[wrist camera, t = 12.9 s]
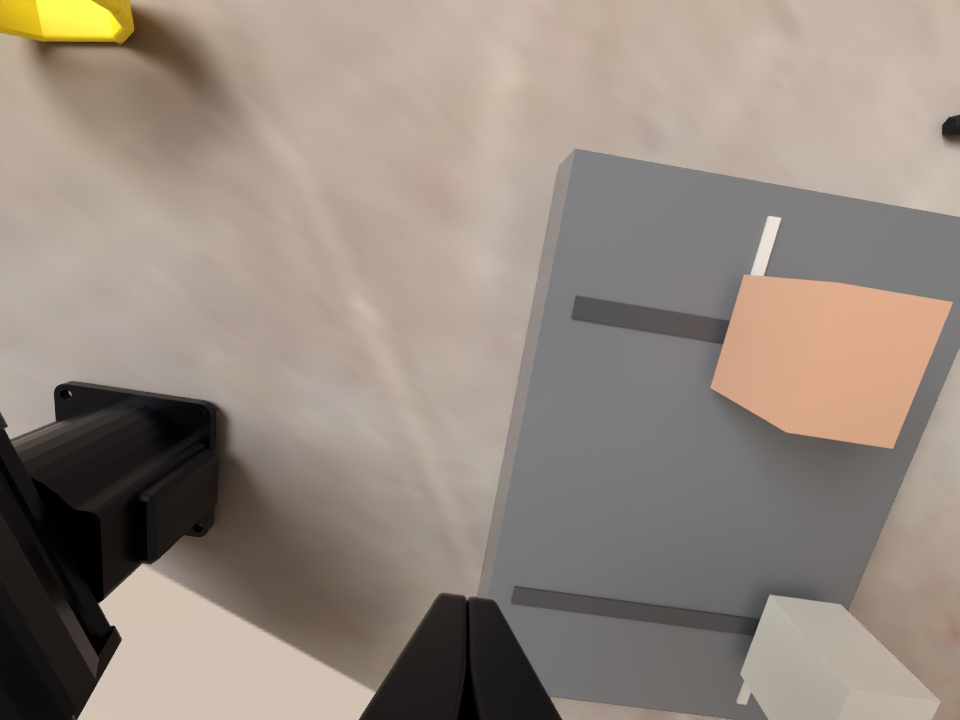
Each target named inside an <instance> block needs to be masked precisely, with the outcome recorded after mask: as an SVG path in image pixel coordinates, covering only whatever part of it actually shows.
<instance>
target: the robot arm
mask: <svg viewBox="0 0 960 720" xmlns="http://www.w3.org/2000/svg"><path fill="white" fill-rule="evenodd" d="M68 391H70V392H71V393H72V396H73V397H71V396H70V395H69V392H68ZM54 400H55V415H56V421H55V422H53V423H50V424H48V425H45V426H43V427H40V428H38V429H35V430H33V431H30V432H28V433H25V434H23V435H20V436H18V437H15V438H13V439H11V440H10V439H9V437H8V435H7V433H6V431H5V429H4V428H6V427H8V426H7V424H6V422H5V420H4V418H3V416H2V414H1V413H0V720H77V719H78V717H79V715H80V713H81V712H82V710H83V708H84V706H85V705H86V703H87V701H88V699H89V697H90V696H91V694H92V692H93V690H94V688H95V687H96V685H97V683H98V681H99V679H100V678H101V676H102V674H103V672H104V671H105V669H106V667H107V665H108V664H109V662H110V660H111V658H112V656H113V655H114V653H115V651H116V649H117V647H118V646H119V644H120V642H121V640H122V638H121V637H120V635H119V633H118V631H117V629H116V627H115V626H110V624H109V622H108V621H107V619H106V617H105V615H104V613H103V611H102V610H101V608H100V606H99V604H98V603H100V602H101V601H103V600H104V599H105V598H106V597H107V596H108V595H109V594H110V593H111V592H112V591H113V590H114V589H115V588H116V587H118V586H119V584H121V583H122V582H123V581H124V580H125V579H126V578H127V577H128V576H129V575H131V574H132V572H134V571H135V570H136V569H137V568H138V567H139V566H140V565H141V564H142V563H143V564H150V565H151V564H152V563H154V562H155V561H157V560H158V559H159V558H160V557H161V556H162V555H163V554H164V553H166V552H167V551H168V550H169V549H170V548H171V547H172V546H173V545H174V544H175V543H176V542H177V541H178V540H179V539H180V538H181V537H182V536H183V535H187V536H195V537H202V536H204V535H206V534H207V533H208V532H209V531H210V529H211V528H212V527H213V524H214V505H215V504H216V503H217V493H218V453H217V451H216V450H215V441H216V410H215V408H214V406H213V405H212V404H211V403H210V402H207V401H203V400H197V399H190V398H183V397H176V396H170V395H163V394H156V393H149V392H143V391H136V390H129V389H122V388H116V387H109V386H102V385H95V384H89V383H82V382H75V381H70V382H66V383H63V384H60V385H58V386H57V387H56V388H55V391H54ZM199 409H200V410H202V411H203V412H204V413H205V417H203V416H201V415H200V414H199V411H198V410H199ZM197 522H198V523H200V524H201V525H202V526H203V527H201V526H199V525H198V523H197ZM359 720H562V719H561V717H560V715H559V713H558V711H557V710H556V708H555V706H554V704H553V703H552V701H551V699H550V697H549V695H548V694H547V692H546V690H545V688H544V686H543V685H542V683H541V681H540V679H539V678H538V676H537V674H536V672H535V670H534V669H533V667H532V665H531V663H530V661H529V660H528V658H527V656H526V654H525V653H524V651H523V649H522V647H521V645H520V644H519V642H518V640H517V638H516V637H515V635H514V633H513V631H512V629H511V628H510V626H509V624H508V622H507V620H506V619H505V617H504V615H503V613H502V612H501V610H500V608H499V606H498V604H497V603H496V602H495V601H494V600H492V599H487V598H479V597H470V598H468V600H466V597H465V596H463V595H457V594H449V593H441V594H439V595H438V596H437V598H436V599H435V601H434V602H433V604H432V606H431V607H430V609H429V610H428V612H427V613H426V615H425V617H424V618H423V620H422V621H421V623H420V624H419V626H418V628H417V629H416V631H415V632H414V634H413V635H412V637H411V639H410V640H409V642H408V643H407V645H406V646H405V648H404V650H403V651H402V653H401V654H400V656H399V657H398V659H397V661H396V662H395V664H394V665H393V667H392V668H391V670H390V672H389V673H388V675H387V676H386V678H385V679H384V681H383V682H382V684H381V686H380V687H379V689H378V690H377V692H376V693H375V695H374V697H373V698H372V700H371V701H370V703H369V704H368V706H367V708H366V709H365V711H364V712H363V714H362V715H361V717H360V719H359Z"/></svg>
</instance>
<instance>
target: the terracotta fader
mask: <svg viewBox="0 0 960 720" xmlns="http://www.w3.org/2000/svg"><path fill="white" fill-rule="evenodd" d="M952 304H953V302H950V301H944V300H938V299H932V298H926V297H920V296H914V295H908V294H902V293H896V292H891V291H885V290H879V289H873V288H867V287H861V286H855V285H849V284H843V283H836V282H825V281H813V280H802V279H790V278H779V277H767V276H756V275H744V276H743V279H742V283H741V286H740V290H739V293H738V296H737V300H736V303H735V306H734V310H733V313H732V317H731V320H730V323H729V327H728V330H727V333H726V337H725V340H724V343H723V347H722V350H721V354H720V357H719V360H718V364H717V367H716V370H715V374H714V377H713V381H712V384H711V387H710V388H711V389H713V390H715V391H717V392H718V393H720V394H722V395H723V396H725V397H727V398H728V399H730V400H732V401H734V402H735V403H737V404H739V405H740V406H742V407H744V408H746V409H747V410H749V411H751V412H752V413H754V414H756V415H757V416H759V417H761V418H763V419H764V420H766V421H768V422H769V423H771V424H773V425H774V426H776V427H778V428H780V429H781V430H783V431H785V432H786V433H793V434H800V435H806V436H813V437H819V438H826V439H832V440H839V441H845V442H852V443H858V444H865V445H871V446H878V447H884V448H891V449H893V447H894V445H895V442H896V440H897V438H898V435H899V433H900V430H901V428H902V425H903V423H904V421H905V418H906V416H907V413H908V411H909V408H910V406H911V404H912V401H913V399H914V396H915V394H916V391H917V389H918V387H919V384H920V382H921V379H922V377H923V374H924V372H925V370H926V367H927V365H928V362H929V360H930V357H931V355H932V353H933V350H934V348H935V345H936V343H937V340H938V338H939V336H940V333H941V331H942V328H943V326H944V323H945V321H946V319H947V316H948V314H949V311H950V309H951V306H952Z"/></svg>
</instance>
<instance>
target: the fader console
mask: <svg viewBox="0 0 960 720" xmlns="http://www.w3.org/2000/svg"><path fill="white" fill-rule="evenodd" d="M744 275H756V276H767V277H779V278H790V279H802V280H813V281H825V282H836V283H843V284H849V285H855V286H861V287H867V288H873V289H879V290H885V291H891V292H896V293H902V294H908V295H914V296H920V297H926V298H932V299H938V300H944V301H950V302H953V304H952V306H951V309H950V311H949V314H948V316H947V319H946V321H945V323H944V326H943V328H942V331H941V333H940V336H939V338H938V340H937V343H936V345H935V348H934V350H933V353H932V355H931V357H930V360H929V362H928V365H927V367H926V370H925V372H924V374H923V377H922V379H921V382H920V384H919V387H918V389H917V391H916V394H915V396H914V399H913V401H912V404H911V406H910V408H909V411H908V413H907V416H906V418H905V421H904V423H903V425H902V428H901V430H900V433H899V435H898V438H897V440H896V442H895V445H894V447H893V449H891V448H884V447H878V446H871V445H865V444H858V443H852V442H845V441H839V440H832V439H826V438H819V437H813V436H806V435H800V434H793V433H786V432H785V431H783V430H781V429H780V428H778V427H776V426H774V425H773V424H771V423H769V422H768V421H766V420H764V419H763V418H761V417H759V416H757V415H756V414H754V413H752V412H751V411H749V410H747V409H746V408H744V407H742V406H740V405H739V404H737V403H735V402H734V401H732V400H730V399H728V398H727V397H725V396H723V395H722V394H720V393H718V392H717V391H715V390H713V389H711V388H710V387H711V384H712V381H713V377H714V374H715V370H716V367H717V364H718V360H719V357H720V354H721V350H722V347H723V343H724V340H725V337H726V333H727V330H728V327H729V323H730V320H731V317H732V313H733V310H734V306H735V303H736V300H737V296H738V293H739V290H740V286H741V283H742V279H743V276H744ZM959 347H960V217H956V216H950V215H945V214H939V213H933V212H928V211H922V210H917V209H911V208H905V207H900V206H894V205H888V204H883V203H877V202H872V201H866V200H860V199H855V198H849V197H844V196H838V195H832V194H827V193H821V192H816V191H810V190H804V189H799V188H793V187H787V186H782V185H776V184H771V183H765V182H759V181H754V180H748V179H743V178H737V177H731V176H726V175H720V174H714V173H709V172H703V171H698V170H692V169H686V168H681V167H675V166H670V165H664V164H658V163H653V162H647V161H642V160H636V159H630V158H625V157H619V156H613V155H608V154H602V153H597V152H591V151H585V150H580V149H575V150H574V151H573V152H572V153H571V154H570V155H569V156H568V157H567V158H566V159H565V160H564V161H563V162H562V163H561V164H560V165H559V168H558V173H557V178H556V184H555V189H554V194H553V199H552V205H551V210H550V215H549V221H548V226H547V231H546V236H545V242H544V247H543V252H542V258H541V263H540V268H539V273H538V279H537V284H536V289H535V295H534V300H533V305H532V310H531V316H530V321H529V326H528V331H527V337H526V342H525V347H524V353H523V358H522V363H521V368H520V374H519V379H518V384H517V390H516V395H515V400H514V405H513V411H512V416H511V421H510V427H509V432H508V437H507V442H506V448H505V453H504V458H503V463H502V469H501V474H500V479H499V485H498V490H497V495H496V500H495V506H494V511H493V516H492V522H491V527H490V532H489V537H488V543H487V548H486V553H485V559H484V564H483V569H482V574H481V580H480V585H479V590H478V595H477V597H479V598H487V599H492V600H494V601H495V602H496V603H497V604H498V606H499V608H500V610H501V612H502V613H503V615H504V617H505V619H506V620H507V622H508V624H509V626H510V628H511V629H512V631H513V633H514V635H515V637H516V638H517V640H518V642H519V644H520V645H521V647H522V649H523V651H524V653H525V654H526V656H527V658H528V660H529V661H530V663H531V665H532V667H533V669H534V670H535V672H536V674H537V676H538V678H539V679H540V681H541V683H542V685H543V686H544V688H545V690H546V692H547V694H548V695H549V697H557V698H565V699H573V700H581V701H589V702H597V703H606V704H614V705H622V706H630V707H638V708H646V709H654V710H662V711H670V712H678V713H686V714H694V715H702V716H711V717H719V718H727V719H735V720H768V718H767V717H766V715H765V713H764V712H763V710H762V708H761V707H760V705H759V704H758V702H757V700H756V699H755V697H754V696H753V694H752V692H751V691H750V689H749V688H748V686H747V684H746V683H745V681H744V680H743V678H742V676H741V675H740V673H741V670H742V667H743V665H744V662H745V659H746V657H747V654H748V651H749V649H750V646H751V643H752V641H753V638H754V635H755V632H756V630H757V627H758V624H759V622H760V619H761V616H762V614H763V611H764V608H765V606H766V603H767V600H768V597H769V595H776V596H784V597H791V598H798V599H806V600H813V601H820V602H827V603H835V604H841V605H842V606H843V607H844V608H845V609H846V610H847V611H848V608H849V606H850V604H851V601H852V599H853V597H854V594H855V592H856V589H857V587H858V585H859V582H860V580H861V578H862V575H863V573H864V571H865V568H866V566H867V564H868V561H869V559H870V557H871V554H872V552H873V549H874V547H875V545H876V542H877V540H878V538H879V535H880V533H881V531H882V528H883V526H884V524H885V521H886V519H887V516H888V514H889V512H890V509H891V507H892V505H893V502H894V500H895V498H896V495H897V493H898V491H899V488H900V486H901V484H902V481H903V479H904V476H905V474H906V472H907V469H908V467H909V465H910V462H911V460H912V458H913V455H914V453H915V451H916V448H917V446H918V444H919V441H920V439H921V436H922V434H923V432H924V429H925V427H926V425H927V422H928V420H929V418H930V415H931V413H932V411H933V408H934V406H935V404H936V401H937V399H938V396H939V394H940V392H941V389H942V387H943V385H944V382H945V380H946V378H947V375H948V373H949V371H950V368H951V366H952V363H953V361H954V359H955V356H956V354H957V352H958V349H959Z"/></svg>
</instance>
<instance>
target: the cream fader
mask: <svg viewBox="0 0 960 720" xmlns="http://www.w3.org/2000/svg"><path fill="white" fill-rule="evenodd" d="M740 675H741V676H742V678H743V680H744V681H745V683H746V684H747V686H748V688H749V689H750V691H751V692H752V694H753V696H754V697H755V699H756V700H757V702H758V704H759V705H760V707H761V708H762V710H763V712H764V713H765V715H766V717H767V718H768V720H932V718H933V717H934V715H935V713H936V711H937V709H938V707H939V705H940V703H941V701H940V700H939V699H938V698H937V697H936V696H935V695H934V694H933V693H932V692H931V691H930V690H929V689H928V688H927V687H925V686H924V685H923V684H922V683H921V682H920V681H919V680H918V679H917V678H916V677H915V676H914V675H913V674H912V673H911V672H910V671H909V670H908V669H907V668H906V667H905V666H904V665H903V664H902V663H901V662H900V661H899V660H898V659H897V658H896V657H895V656H894V655H893V654H892V653H890V652H889V651H888V650H887V649H886V648H885V647H884V646H883V645H882V644H881V643H880V642H879V641H878V640H877V639H876V638H875V637H874V636H873V635H872V634H871V633H870V632H869V631H868V630H867V629H866V628H865V627H864V626H863V625H862V624H861V623H860V622H859V621H858V620H857V619H855V618H854V617H853V616H852V615H851V614H850V613H849V612H848V611H847V610H846V609H845V608H844V607H843V606H842V605H841V604H835V603H827V602H820V601H813V600H806V599H798V598H791V597H784V596H776V595H769V597H768V600H767V603H766V606H765V608H764V611H763V614H762V616H761V619H760V622H759V624H758V627H757V630H756V632H755V635H754V638H753V641H752V643H751V646H750V649H749V651H748V654H747V657H746V659H745V662H744V665H743V667H742V670H741V673H740Z"/></svg>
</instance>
